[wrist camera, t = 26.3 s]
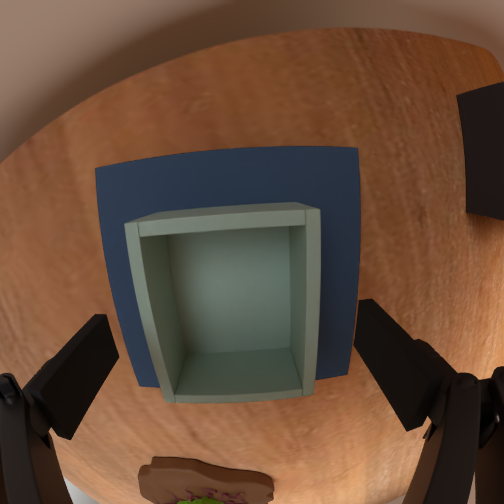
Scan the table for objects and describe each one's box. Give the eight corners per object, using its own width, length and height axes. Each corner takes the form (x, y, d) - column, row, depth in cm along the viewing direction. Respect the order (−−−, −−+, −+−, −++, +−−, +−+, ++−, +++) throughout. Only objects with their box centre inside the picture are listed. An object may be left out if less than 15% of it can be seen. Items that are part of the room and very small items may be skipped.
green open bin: (157, 212, 19) (123, 223, 13) (296, 201, 19) (321, 208, 13) (180, 355, 22) (165, 402, 16) (297, 348, 22) (313, 395, 16)
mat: (97, 168, 18) (94, 168, 18) (355, 148, 19) (358, 147, 18) (140, 383, 23) (139, 386, 22) (346, 371, 23) (347, 374, 23)
